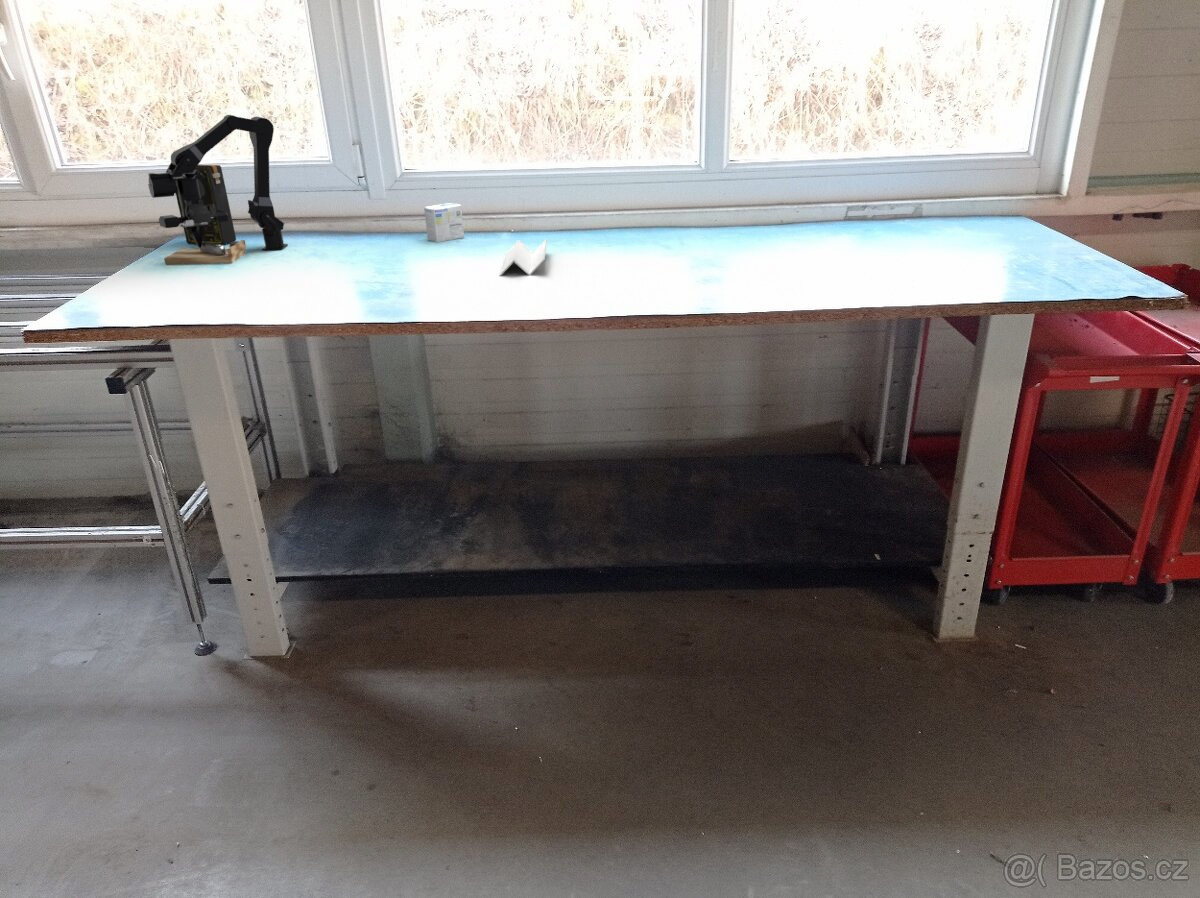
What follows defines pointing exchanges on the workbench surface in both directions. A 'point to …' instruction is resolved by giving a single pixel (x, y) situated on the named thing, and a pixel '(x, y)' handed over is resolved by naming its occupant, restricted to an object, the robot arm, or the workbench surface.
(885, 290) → the workbench surface
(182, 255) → the door board
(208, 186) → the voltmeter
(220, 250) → the bar
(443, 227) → the light bulb box
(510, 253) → the z bracket
